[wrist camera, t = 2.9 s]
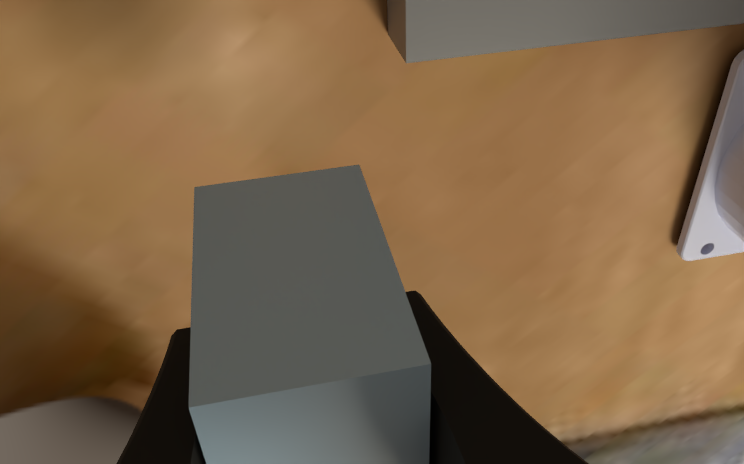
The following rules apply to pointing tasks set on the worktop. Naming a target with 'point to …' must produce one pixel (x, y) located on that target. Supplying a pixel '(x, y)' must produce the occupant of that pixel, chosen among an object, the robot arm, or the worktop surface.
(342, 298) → the block
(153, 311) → the worktop surface
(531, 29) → the grey slotted base
